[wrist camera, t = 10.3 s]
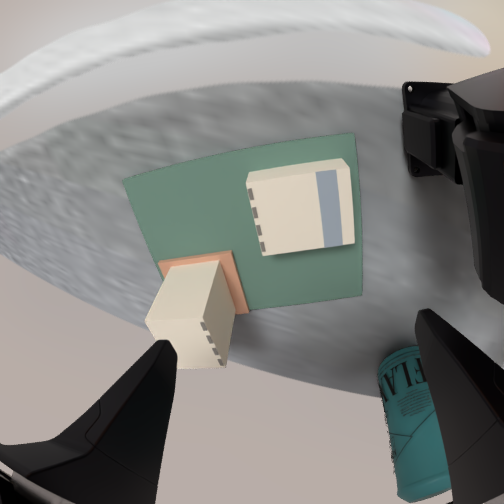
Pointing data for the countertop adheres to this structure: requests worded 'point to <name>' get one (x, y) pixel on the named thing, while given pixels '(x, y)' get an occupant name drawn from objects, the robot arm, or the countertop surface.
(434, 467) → the beverage bottle
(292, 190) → the spiral notebook
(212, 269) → the stub
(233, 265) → the coaster
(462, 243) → the countertop surface
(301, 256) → the mat
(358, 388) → the countertop surface
